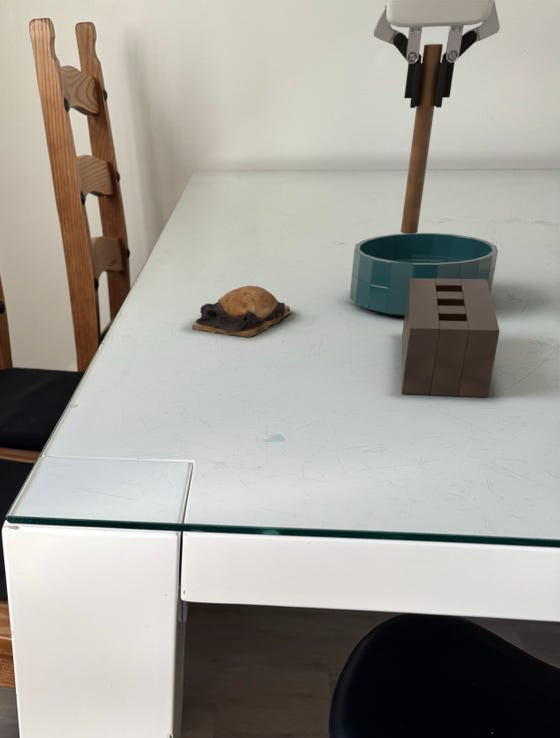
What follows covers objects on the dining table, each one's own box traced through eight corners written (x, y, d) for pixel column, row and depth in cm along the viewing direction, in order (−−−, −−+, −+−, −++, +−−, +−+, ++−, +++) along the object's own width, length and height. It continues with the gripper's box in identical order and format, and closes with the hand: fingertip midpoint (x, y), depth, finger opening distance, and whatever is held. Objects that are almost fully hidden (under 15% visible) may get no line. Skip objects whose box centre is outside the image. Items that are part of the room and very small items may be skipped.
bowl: (483, 286, 119) (492, 233, 116) (492, 323, 107) (502, 265, 104) (352, 284, 123) (357, 232, 120) (346, 319, 111) (351, 263, 107)
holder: (476, 339, 103) (486, 279, 100) (487, 397, 89) (499, 330, 86) (401, 337, 105) (409, 277, 101) (401, 394, 91) (410, 328, 88)
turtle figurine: (231, 305, 118) (232, 273, 116) (297, 314, 114) (299, 280, 112) (184, 329, 111) (184, 295, 109) (252, 339, 107) (253, 303, 105)
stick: (417, 230, 112) (442, 43, 102) (417, 233, 110) (443, 44, 100) (400, 230, 112) (424, 44, 102) (400, 233, 111) (424, 45, 101)
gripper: (540, -118, 95) (503, 100, 105) (369, -106, 99) (349, 103, 109) (549, -123, 89) (508, 109, 99) (366, -110, 93) (346, 112, 103)
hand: (425, 104), depth 104 cm, fingers closed on stick, 1 cm apart
